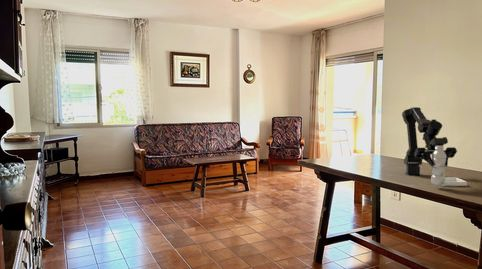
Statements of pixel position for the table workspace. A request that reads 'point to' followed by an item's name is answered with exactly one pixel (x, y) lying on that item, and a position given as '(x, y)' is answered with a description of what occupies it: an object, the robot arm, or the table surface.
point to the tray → (454, 182)
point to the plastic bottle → (438, 166)
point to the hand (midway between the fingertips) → (439, 166)
